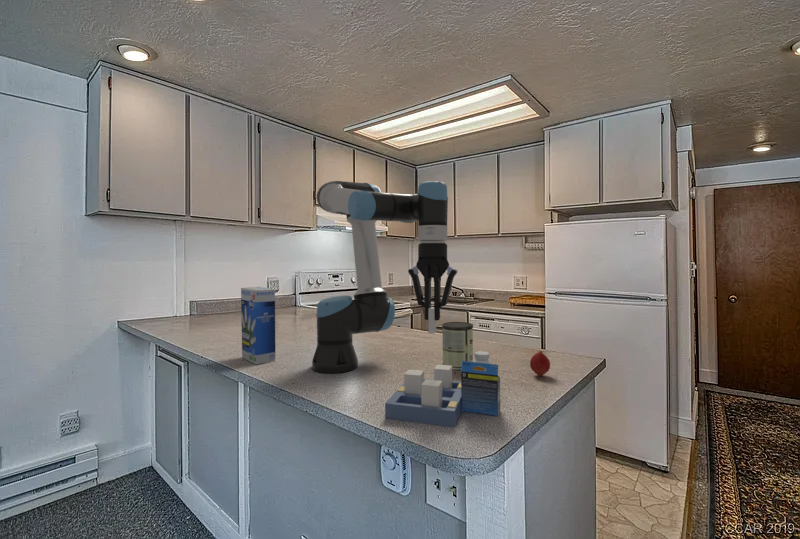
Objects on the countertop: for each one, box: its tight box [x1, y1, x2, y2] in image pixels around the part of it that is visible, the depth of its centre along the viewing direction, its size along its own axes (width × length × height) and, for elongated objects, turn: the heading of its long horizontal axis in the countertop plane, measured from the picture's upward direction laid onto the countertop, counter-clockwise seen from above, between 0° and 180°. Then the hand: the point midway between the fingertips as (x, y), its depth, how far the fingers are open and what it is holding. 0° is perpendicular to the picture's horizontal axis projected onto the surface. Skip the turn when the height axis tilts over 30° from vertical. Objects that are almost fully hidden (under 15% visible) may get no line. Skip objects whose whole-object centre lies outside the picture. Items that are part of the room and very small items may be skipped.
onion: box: [529, 350, 551, 377], centre depth 121 cm, size 6×6×8 cm
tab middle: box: [403, 369, 425, 395], centre depth 98 cm, size 4×4×6 cm
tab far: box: [433, 364, 453, 388], centre depth 103 cm, size 4×4×6 cm
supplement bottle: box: [473, 350, 493, 371], centre depth 111 cm, size 5×5×10 cm
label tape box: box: [460, 361, 501, 417], centre depth 94 cm, size 9×4×12 cm, turn 68°
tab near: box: [421, 378, 442, 408], centre depth 90 cm, size 4×4×6 cm
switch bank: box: [384, 378, 462, 428], centre depth 97 cm, size 16×20×4 cm
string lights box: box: [240, 286, 276, 365], centre depth 142 cm, size 13×8×26 cm, turn 43°
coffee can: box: [441, 321, 474, 371], centre depth 132 cm, size 10×10×14 cm
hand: (432, 332), depth 103 cm, fingers closed
